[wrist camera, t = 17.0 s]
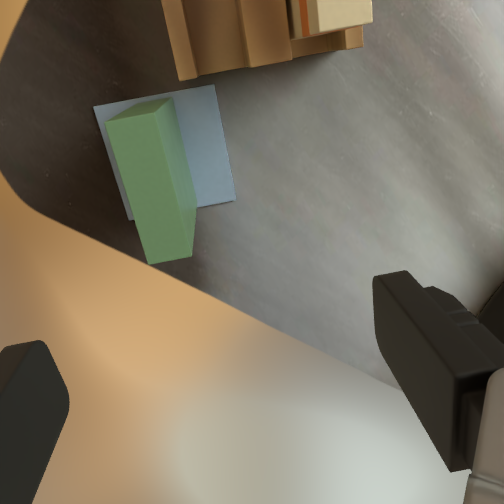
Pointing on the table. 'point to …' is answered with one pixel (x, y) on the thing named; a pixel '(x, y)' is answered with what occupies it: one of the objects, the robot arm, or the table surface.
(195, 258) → the table surface
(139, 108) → the green book
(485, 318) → the magazine
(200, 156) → the felt pad
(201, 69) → the book rack
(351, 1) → the cream book
